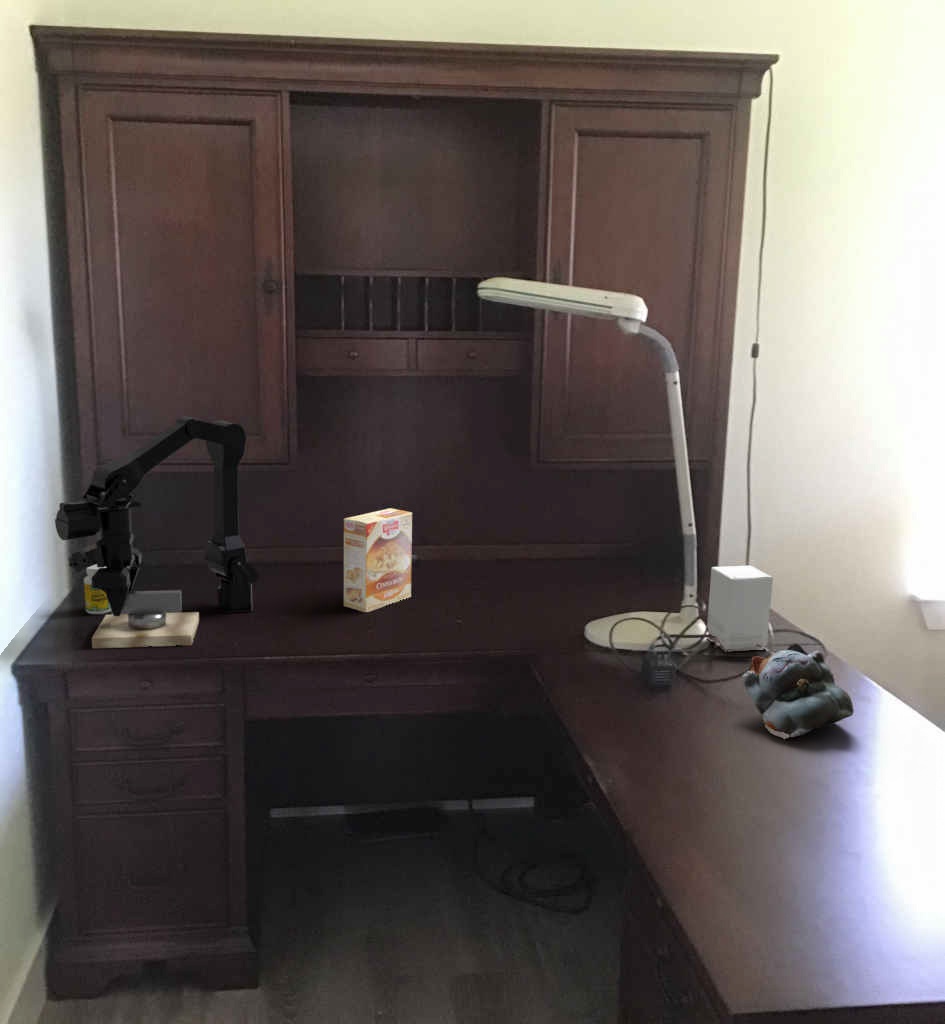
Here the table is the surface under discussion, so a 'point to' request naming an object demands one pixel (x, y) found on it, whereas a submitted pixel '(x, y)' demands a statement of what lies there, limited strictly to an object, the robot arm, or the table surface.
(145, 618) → the silver dome with handle
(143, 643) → the base plate
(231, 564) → the robot arm
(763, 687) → the lucky cat figurine
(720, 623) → the supplement box
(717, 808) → the table surface
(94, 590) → the supplement bottle
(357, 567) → the coffeecake box
